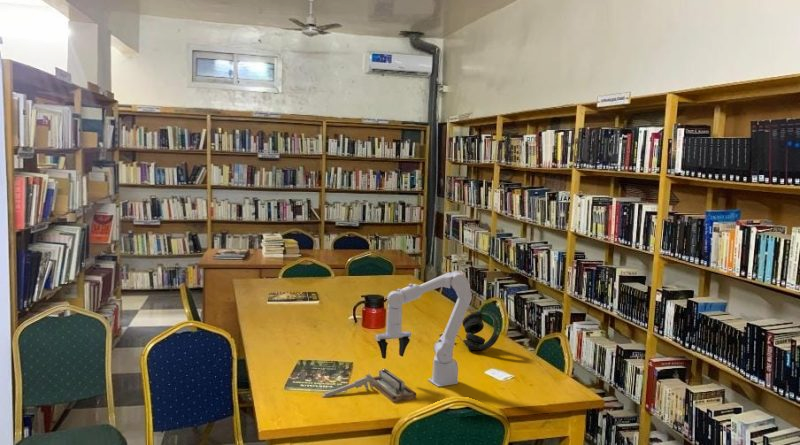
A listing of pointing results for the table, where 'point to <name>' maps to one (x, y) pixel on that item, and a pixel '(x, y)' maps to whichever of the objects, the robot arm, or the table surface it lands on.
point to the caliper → (352, 386)
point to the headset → (475, 325)
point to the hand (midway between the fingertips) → (392, 356)
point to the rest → (391, 395)
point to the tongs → (391, 381)
